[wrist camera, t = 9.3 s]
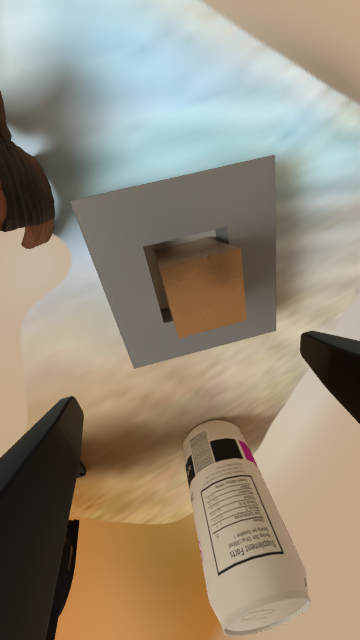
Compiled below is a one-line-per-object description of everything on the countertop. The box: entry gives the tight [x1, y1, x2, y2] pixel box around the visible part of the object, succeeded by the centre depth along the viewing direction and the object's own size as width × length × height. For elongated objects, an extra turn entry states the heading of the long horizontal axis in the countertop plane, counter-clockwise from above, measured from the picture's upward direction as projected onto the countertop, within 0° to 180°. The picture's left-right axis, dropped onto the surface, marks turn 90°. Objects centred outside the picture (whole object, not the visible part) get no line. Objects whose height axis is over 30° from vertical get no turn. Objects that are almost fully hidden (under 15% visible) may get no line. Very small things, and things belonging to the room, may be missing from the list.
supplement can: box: [182, 420, 311, 636], centre depth 23 cm, size 8×8×15 cm
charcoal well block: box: [70, 155, 276, 369], centre depth 18 cm, size 13×13×4 cm
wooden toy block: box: [154, 238, 247, 339], centre depth 16 cm, size 4×4×7 cm
